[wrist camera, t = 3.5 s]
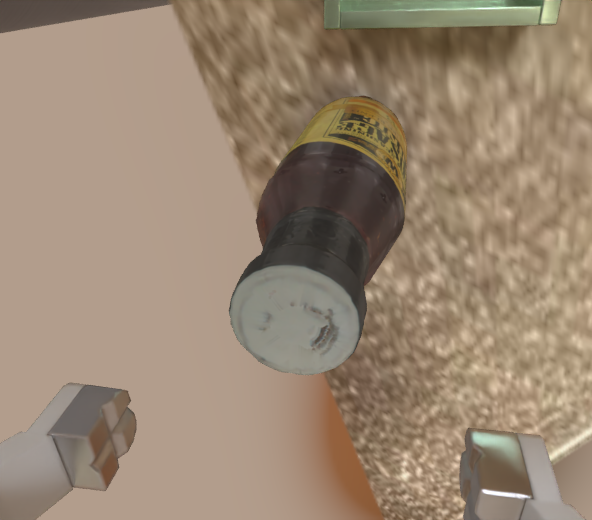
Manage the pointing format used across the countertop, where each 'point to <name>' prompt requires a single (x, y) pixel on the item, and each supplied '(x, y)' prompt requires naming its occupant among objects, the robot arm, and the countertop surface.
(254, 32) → the countertop surface
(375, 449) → the countertop surface
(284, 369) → the sauce bottle
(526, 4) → the green shallow open box
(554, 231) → the countertop surface
